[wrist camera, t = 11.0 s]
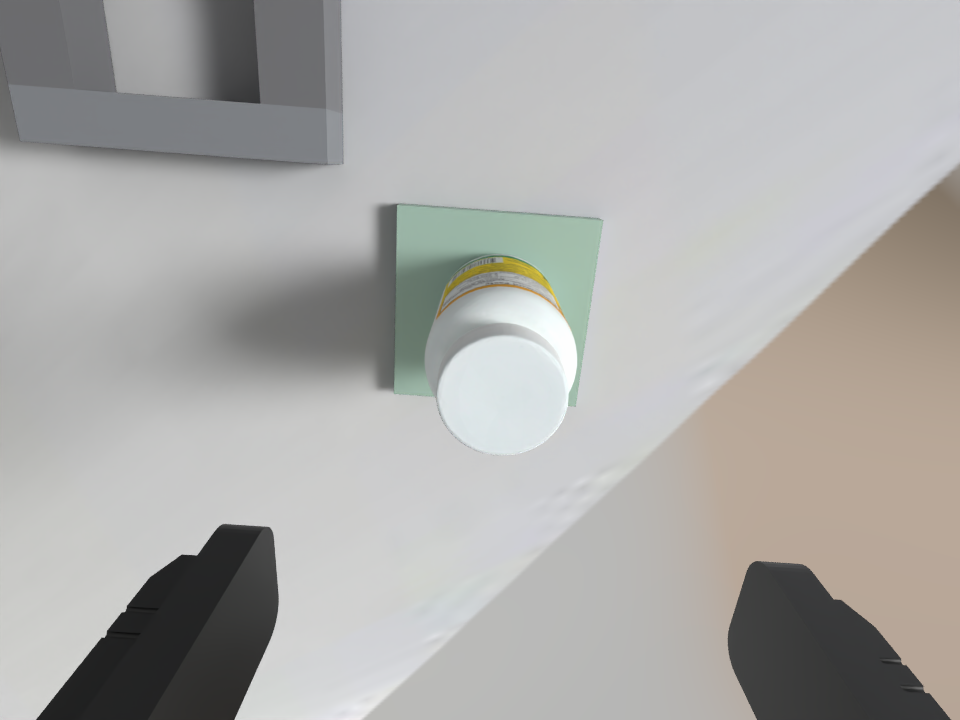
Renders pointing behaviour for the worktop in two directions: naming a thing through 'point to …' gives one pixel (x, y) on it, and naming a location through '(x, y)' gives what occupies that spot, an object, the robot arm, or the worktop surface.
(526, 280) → the supplement bottle
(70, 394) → the worktop surface
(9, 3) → the case
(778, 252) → the worktop surface
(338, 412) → the worktop surface
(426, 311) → the pad
